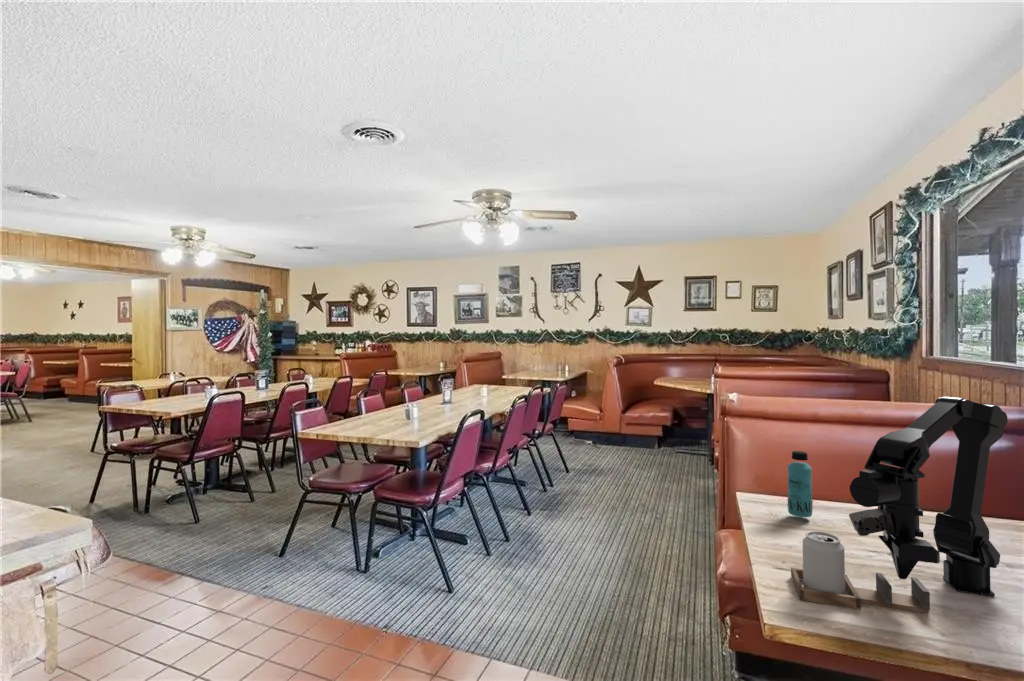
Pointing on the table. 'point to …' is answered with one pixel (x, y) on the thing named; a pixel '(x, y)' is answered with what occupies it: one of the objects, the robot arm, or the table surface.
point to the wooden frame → (867, 594)
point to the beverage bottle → (799, 486)
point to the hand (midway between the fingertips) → (901, 578)
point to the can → (823, 563)
